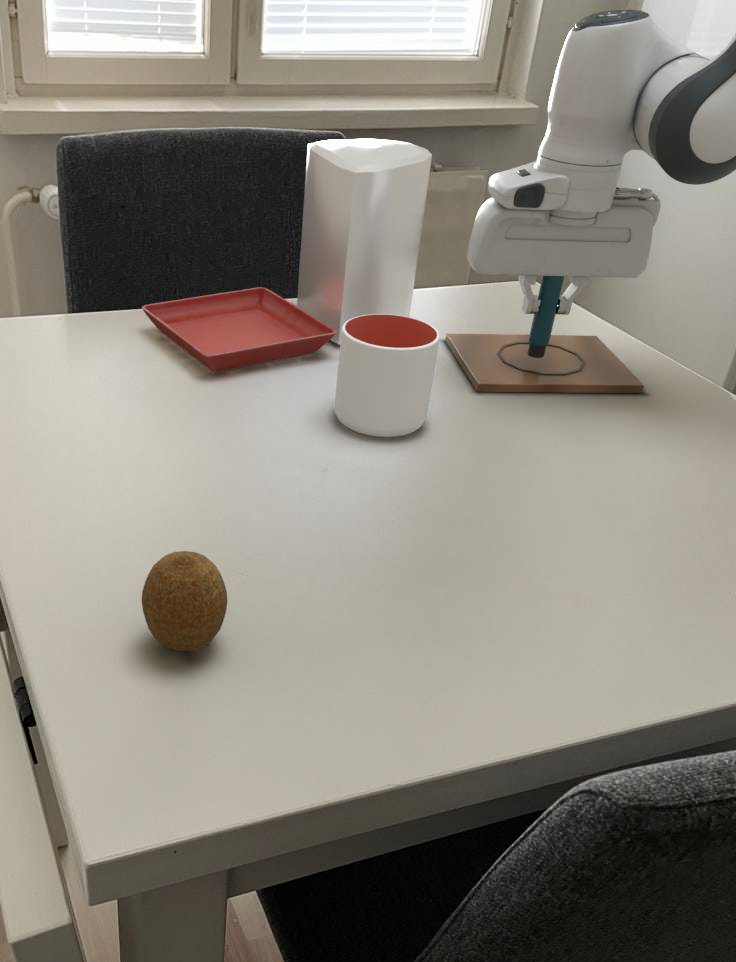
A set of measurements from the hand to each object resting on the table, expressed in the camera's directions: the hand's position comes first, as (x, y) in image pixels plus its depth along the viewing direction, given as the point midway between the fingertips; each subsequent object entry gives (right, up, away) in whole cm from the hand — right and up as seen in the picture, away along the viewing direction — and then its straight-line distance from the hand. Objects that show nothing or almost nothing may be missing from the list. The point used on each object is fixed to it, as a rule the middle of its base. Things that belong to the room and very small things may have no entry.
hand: (544, 312), depth 116 cm
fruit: (-39, -39, -41) cm, 69 cm away
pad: (+1, -5, +6) cm, 8 cm away
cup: (-20, -15, -9) cm, 27 cm away
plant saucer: (-36, -2, +8) cm, 37 cm away
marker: (0, -4, +3) cm, 5 cm away
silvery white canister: (-20, +4, +15) cm, 25 cm away
